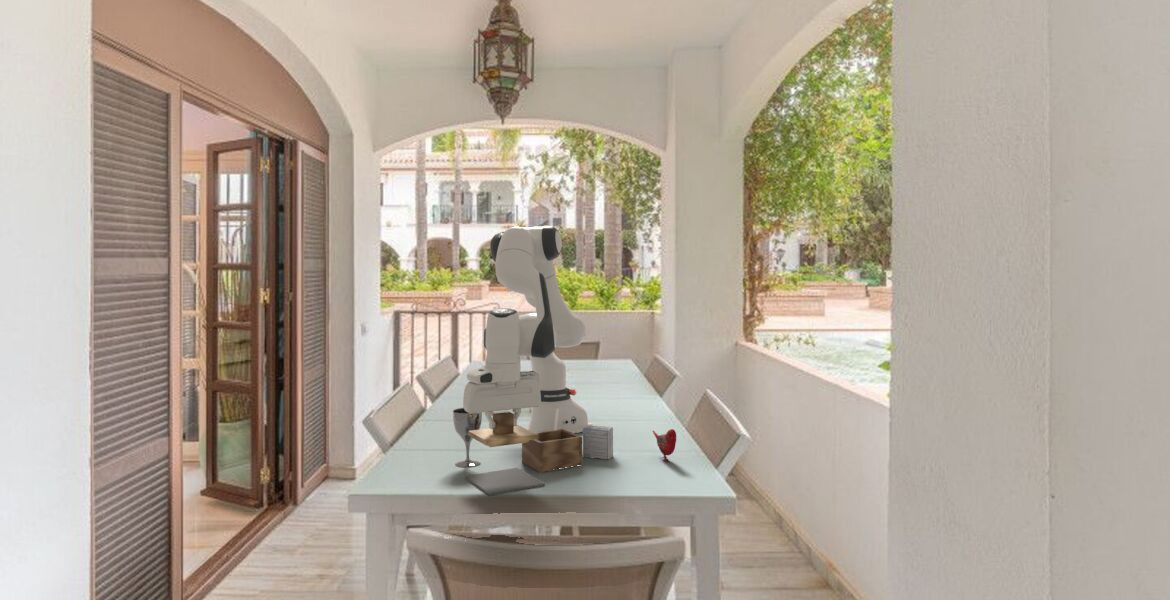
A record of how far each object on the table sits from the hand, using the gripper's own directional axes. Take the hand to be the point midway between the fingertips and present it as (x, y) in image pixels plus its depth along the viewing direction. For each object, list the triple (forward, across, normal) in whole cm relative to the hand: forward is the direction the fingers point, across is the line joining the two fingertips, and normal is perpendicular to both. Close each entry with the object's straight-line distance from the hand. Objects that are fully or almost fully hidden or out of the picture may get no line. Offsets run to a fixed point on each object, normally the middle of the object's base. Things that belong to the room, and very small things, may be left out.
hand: (502, 427), depth 182 cm
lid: (+2, 0, 0) cm, 3 cm away
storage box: (+14, -18, -8) cm, 24 cm away
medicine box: (+14, -33, -8) cm, 37 cm away
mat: (+14, 0, 0) cm, 14 cm away
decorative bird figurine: (+14, -48, +3) cm, 51 cm away
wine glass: (+14, +2, -20) cm, 25 cm away
